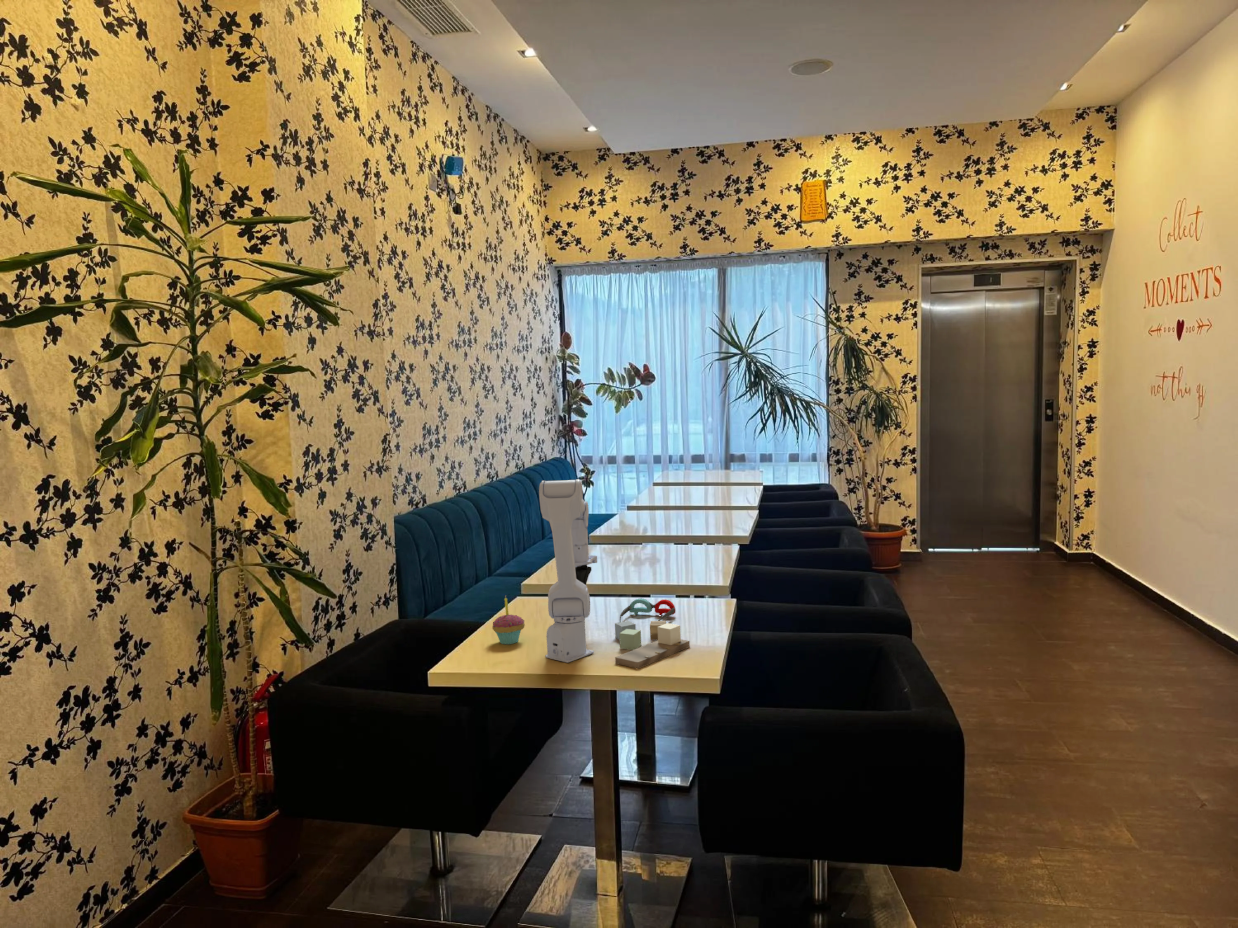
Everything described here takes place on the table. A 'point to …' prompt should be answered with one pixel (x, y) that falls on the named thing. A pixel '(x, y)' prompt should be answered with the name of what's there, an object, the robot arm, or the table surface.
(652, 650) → the board
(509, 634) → the cupcake
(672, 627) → the slider
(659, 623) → the oak block
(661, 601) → the novelty glasses
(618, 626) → the slate blue block
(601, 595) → the table surface
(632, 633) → the sage block
